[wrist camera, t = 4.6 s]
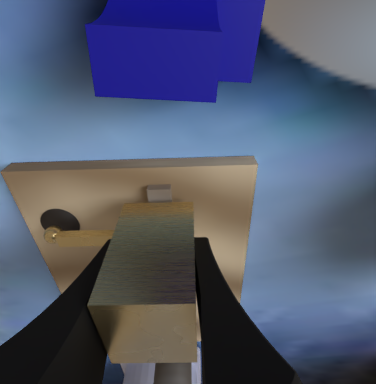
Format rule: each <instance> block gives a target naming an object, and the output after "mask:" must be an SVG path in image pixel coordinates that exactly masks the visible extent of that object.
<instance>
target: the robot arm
mask: <svg viewBox="0 0 376 384" xmlns="http://www.w3.org/2000/svg"><path fill="white" fill-rule="evenodd" d="M110 241H111V239H109V240H107V242H106V243H105V244H104V245H103V247H102V248H101V249H100V251H99V252H98V253H97V254H96V256H95V257H94V258H93V259H92V261H91V262H90V263H89V264H88V265H87V266H86V268H85V269H84V270H83V271H82V272H81V274H80V275H79V276H78V277H77V278H76V279H75V280H74V281H73V282H72V283H71V285H70V286H69V287H68V288H67V289H66V290H65V291H64V292H63V293H62V294H61V295H60V296H59V297H58V298H57V299H56V300H55V301H54V302H53V303H52V304H51V305H50V306H49V307H48V308H47V309H45V310H44V311H43V312H42V313H41V314H40V315H39V316H37V317H36V318H35V319H34V320H33V321H32V322H30V323H29V324H28V325H27V326H26V327H24V328H23V329H22V330H21V331H19V332H18V333H17V334H16V335H14V336H13V337H12V338H10V339H9V340H8V341H6V342H5V343H4V344H2V345H1V346H0V384H102V380H103V374H104V369H105V363H106V358H107V351H106V349H105V346H104V344H103V342H102V339H101V337H100V335H99V332H98V330H97V328H96V325H95V323H94V321H93V318H92V316H91V314H90V311H89V309H88V307H87V305H88V302H89V299H90V296H91V293H92V291H93V288H94V285H95V282H96V280H97V277H98V274H99V271H100V269H101V266H102V263H103V260H104V258H105V255H106V252H107V249H108V247H109V244H110ZM194 249H195V285H196V298H197V307H198V315H199V324H200V333H201V352H202V381H203V384H302V382H301V380H300V378H299V377H298V375H297V373H296V371H295V370H294V369H293V368H292V367H291V366H290V365H289V364H288V363H287V361H286V360H285V359H284V358H283V357H282V356H281V355H280V354H279V353H278V352H277V351H276V350H275V348H274V347H273V346H272V345H271V344H270V343H269V341H268V340H267V339H266V338H265V337H264V335H263V334H262V333H261V332H260V330H259V329H258V328H257V327H256V325H255V324H254V323H253V321H252V320H251V319H250V318H249V316H248V315H247V313H246V312H245V310H244V309H243V308H242V306H241V305H240V303H239V302H238V300H237V299H236V297H235V295H234V294H233V292H232V291H231V289H230V287H229V285H228V284H227V282H226V280H225V278H224V276H223V274H222V272H221V270H220V268H219V266H218V264H217V262H216V260H215V257H214V255H213V252H212V249H211V246H210V243H209V239H208V238H207V237H194ZM120 365H121V367H122V370H123V372H124V380H123V384H153V383H154V373H155V363H120ZM192 384H201V369H200V348H199V347H197V362H192Z"/></svg>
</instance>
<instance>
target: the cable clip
mask: <svg viewBox="0 0 376 384" xmlns="http://www.w3.org/2000/svg"><path fill="white" fill-rule="evenodd" d="M264 4H265V0H108V2H107V5H106V7H105V9H104V11H103V13H102V14H101V15H100V17H99V18H98V19H97V20H95V21H94V22H92V23H88V24H85V28H86V35H87V42H88V49H89V56H90V63H91V70H92V77H93V84H94V91H95V96H98V97H117V98H136V99H156V100H175V101H194V102H213V103H216V96H217V87H218V81H227V82H245V83H251V80H252V74H253V68H254V63H255V57H256V51H257V45H258V39H259V34H260V28H261V22H262V15H263V10H264Z"/></svg>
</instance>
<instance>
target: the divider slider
mask: <svg viewBox="0 0 376 384" xmlns="http://www.w3.org/2000/svg"><path fill="white" fill-rule="evenodd" d="M44 239H45V241H46V242H48V243H50V244H56V243H58V245H59V247H84V246H103V245H104V244H105V243H106V242H107V240H109V239H111V241H110V244H109V247H108V249H107V252H106V255H105V258H104V260H103V263H102V266H101V269H100V271H99V274H98V277H97V280H96V282H95V285H94V288H93V291H92V293H91V296H90V299H89V302H88V305H87V307H88V309H89V311H90V314H91V316H92V318H93V321H94V323H95V325H96V328H97V330H98V332H99V335H100V337H101V339H102V342H103V344H104V346H105V349H106V351H107V353H108V356H109V358H110V360H111V363H190V362H197V325H196V285H195V249H194V206H193V202H164V203H124V205H123V208H122V211H121V214H120V216H119V219H118V222H117V225H116V227H115V230H82V231H63V229H62V228H61V227H59V226H50V227H48V228H47V229H46V230H45V232H44Z"/></svg>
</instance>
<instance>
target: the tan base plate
mask: <svg viewBox="0 0 376 384" xmlns="http://www.w3.org/2000/svg"><path fill="white" fill-rule="evenodd" d="M257 168H258V164H257V162H256V160H255V158H254V156H234V157H200V158H165V159H131V160H96V161H62V162H27V163H11V164H10V165H9V166H7V167H6V168H5V169H4V170H2V171H1V174H2V176H3V178H4V180H5V182H6V184H7V186H8V188H9V190H10V192H11V194H12V196H13V198H14V200H15V202H16V204H17V206H18V208H19V210H20V212H21V214H22V216H23V218H24V220H25V222H26V224H27V226H28V228H29V230H30V232H31V234H32V236H33V238H34V240H35V242H36V244H37V246H38V248H39V250H40V252H41V254H42V256H43V258H44V260H45V262H46V264H47V266H48V268H49V270H50V272H51V274H52V276H53V278H54V280H55V282H56V284H57V286H58V288H59V290H60V292H61V294H62V293H63V292H64V291H65V290H66V289H67V288H68V287H69V286H70V285H71V283H72V282H73V281H74V280H75V279H76V278H77V277H78V276H79V275H80V274H81V272H82V271H83V270H84V269H85V268H86V266H87V265H88V264H89V263H90V262H91V261H92V259H93V258H94V257H95V256H96V254H97V253H98V252H99V251H100V249H101V248H102V247H103V246H84V247H59V245H58V243H56V244H50V243H48V242H46V241H45V239H44V232H45V230H46V229H47V228H48V227H50V226H59V227H61V228H62V229H63V231H82V230H115V227H116V225H117V222H118V219H119V216H120V214H121V211H122V208H123V205H124V203H164V202H193V206H194V237H207V238H208V239H209V243H210V246H211V249H212V252H213V255H214V257H215V260H216V262H217V264H218V266H219V268H220V270H221V272H222V274H223V276H224V278H225V280H226V282H227V284H228V285H229V287H230V289H231V291H232V292H233V294H234V295H235V297H236V299H237V300H238V302H239V303H240V298H241V291H242V283H243V275H244V268H245V260H246V252H247V245H248V237H249V229H250V222H251V214H252V206H253V199H254V191H255V183H256V176H257ZM196 325H197V341H201V333H200V324H199V315H198V307H197V298H196ZM153 384H192V362H190V363H155V373H154V383H153Z"/></svg>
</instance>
